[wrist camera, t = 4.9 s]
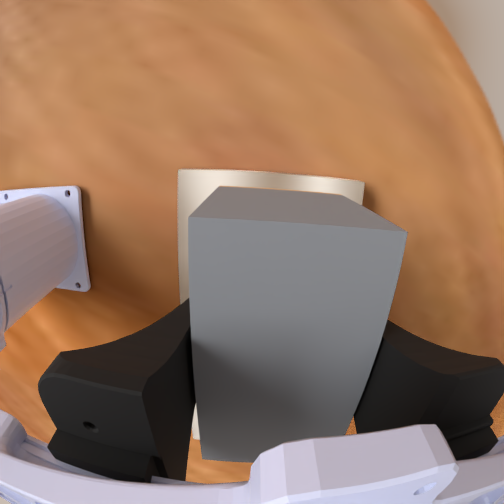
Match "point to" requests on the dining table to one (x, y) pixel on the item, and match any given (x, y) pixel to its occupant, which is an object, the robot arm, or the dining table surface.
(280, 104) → the dining table surface
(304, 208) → the block
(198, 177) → the cream flat panel
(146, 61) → the dining table surface
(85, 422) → the robot arm
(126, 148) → the dining table surface
